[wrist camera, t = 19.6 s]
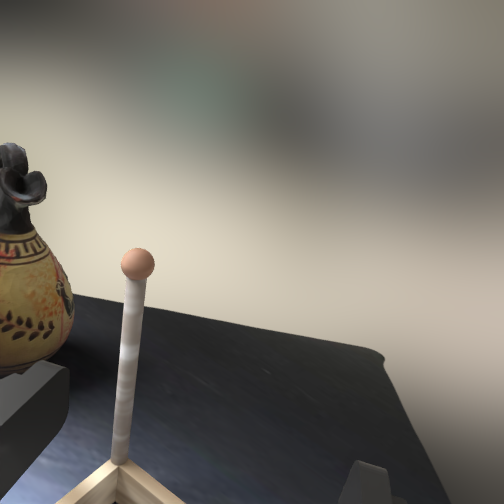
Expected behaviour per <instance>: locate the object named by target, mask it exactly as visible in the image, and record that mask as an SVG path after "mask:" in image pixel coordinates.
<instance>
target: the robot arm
mask: <svg viewBox="0 0 504 504" xmlns="http://www.w3.org/2000/svg"><path fill="white" fill-rule="evenodd" d="M69 383H70V371H69V369H68V368H66V367H63V366H60V365H57V364H53V363H50V362H47V361H44V360H41V361H38V362H37V363H35V364H34V365H33V366H32V367H30V368H29V369H28V370H27V371H26V372H24V373H23V374H22V375H20V374H17V373H14V374H11V375H9V376H7V377H5V378H3V379H0V500H1V499H2V498H3V497H4V496H5V495H6V493H7V492H8V491H9V490H10V489H11V487H12V486H13V485H14V484H15V483H16V482H17V480H18V479H19V478H20V477H21V476H22V475H23V473H24V472H25V471H26V470H27V469H28V468H29V466H30V465H31V464H32V463H33V462H34V461H35V459H36V458H37V457H38V456H39V455H40V454H41V452H42V451H43V450H44V449H45V448H46V447H47V445H48V444H49V443H50V442H51V441H52V440H53V438H54V437H55V436H56V435H57V434H58V432H59V431H60V430H61V428H62V426H63V424H64V422H65V420H66V417H67V414H68V409H69ZM337 504H407V502H406V501H405V499H402V498H399V497H396V496H393V495H391V491H390V484H389V477H388V473H387V470H386V469H384V468H380V467H377V466H374V465H371V464H368V463H365V462H361V461H358V460H356V461H355V462H354V463H353V466H352V468H351V470H350V473H349V475H348V478H347V480H346V483H345V485H344V488H343V490H342V492H341V495H340V497H339V500H338V503H337Z"/></svg>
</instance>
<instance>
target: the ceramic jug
mask: <svg viewBox="0 0 504 504" xmlns="http://www.w3.org/2000/svg"><path fill="white" fill-rule="evenodd" d="M46 191H47V183H46V180H45V178H44V176H43V174H42V173H41V172H39V171H33V172H31V173H28V161H27V156H26V152H25V149H23V148H22V147H20V146H18V145H16V144H15V143H4V144H3V145H1V146H0V379H3V378H5V377H7V376H9V375H11V374H14V373H17V374H20V375H22V374H23V373H24V372H26V371H27V370H28V369H29V368H30V367H32V366H33V365H34V364H35V363H37V362H38V361H41V360H44V361H47V360H48V359H49V358H50V357H52V356H53V355H54V354H55V353H56V352H57V351H58V350H59V349H60V348H61V347H62V345H63V344H64V343H65V341H66V340H67V337H68V335H69V333H70V330H71V328H72V325H73V318H74V306H75V305H74V302H73V299H74V297H73V295H72V291H71V286H70V283H69V282H68V277H67V275H66V274H65V272H64V270H63V268H62V266H61V264H60V263H59V262H58V261H57V259H56V257H55V256H54V255H53V253H52V251H51V250H50V248H49V247H48V245H47V244H46V243H45V242H44V241H43V240H42V238H41V237H40V236H39V234H38V233H37V232H36V230H35V227H34V226H33V225H32V223H31V221H30V213H29V211H28V210H29V209H28V206H31V205H36V204H39V203H41V202H42V201H43V200H44V199H45V198H46Z"/></svg>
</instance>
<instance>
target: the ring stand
mask: <svg viewBox="0 0 504 504" xmlns="http://www.w3.org/2000/svg"><path fill="white" fill-rule="evenodd" d="M154 266H155V264H154V259H153V256H152V255H151V254H150V253H149V252H148V251H146V250H144V249H141V248H135V249H131V250H129V251H128V252H127V253H126V254H125V255H124V256H123V258H122V261H121V268H122V271H123V273H124V274H125V275H126V276H127V277H126V288H125V301H124V311H123V323H122V334H121V346H120V357H119V369H118V380H117V392H116V403H115V415H114V426H113V438H112V450H111V459H110V460H108V461H107V462H106V463H105V464H103V465H102V466H101V467H100V468H99V469H97V470H96V471H95V472H94V473H92V474H91V475H90V476H89V477H87V478H86V479H85V480H84V481H83V482H81V483H80V484H79V485H78V486H76V487H75V488H74V489H73V490H71V491H70V492H69V493H68V494H67V495H65V496H64V497H63V498H62V499H60V500H59V501H58V502H57V503H55V504H113V503H114V502H115V501H116V502H117V503H118V504H185V503H184V502H183V501H182V500H180V499H179V498H178V497H177V496H175V495H174V494H173V493H171V492H170V491H169V490H168V489H166V488H165V487H164V486H163V485H161V484H160V483H159V482H158V481H156V480H155V479H154V478H153V477H151V476H150V475H149V474H148V473H146V472H145V471H144V470H143V469H141V468H140V467H139V466H137V465H136V464H135V463H134V462H132V461H131V460H130V459H129V458H128V449H129V439H130V430H131V421H132V411H133V402H134V393H135V383H136V374H137V365H138V355H139V346H140V337H141V328H142V318H143V309H144V299H145V289H146V281H147V277H149V276H150V275H151V273H152V272H153V270H154Z"/></svg>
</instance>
